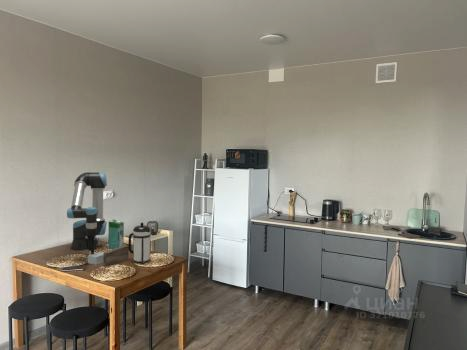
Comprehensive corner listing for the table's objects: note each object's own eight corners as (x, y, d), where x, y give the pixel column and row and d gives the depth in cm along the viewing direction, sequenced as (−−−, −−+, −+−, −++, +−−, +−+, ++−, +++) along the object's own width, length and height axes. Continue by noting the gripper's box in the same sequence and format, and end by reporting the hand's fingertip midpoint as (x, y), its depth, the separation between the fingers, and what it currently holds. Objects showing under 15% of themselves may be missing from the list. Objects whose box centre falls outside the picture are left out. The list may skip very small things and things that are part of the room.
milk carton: (118, 251, 291) (118, 221, 289) (108, 250, 293) (108, 221, 291) (123, 248, 300) (123, 219, 298) (114, 247, 302) (114, 219, 300)
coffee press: (151, 257, 276) (151, 220, 274) (152, 264, 261) (152, 224, 259) (128, 258, 272) (128, 220, 270) (127, 265, 256) (128, 224, 255)
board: (103, 266, 254) (103, 252, 253) (124, 258, 274) (124, 245, 273) (107, 266, 252) (107, 253, 251) (128, 258, 272) (128, 246, 271)
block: (87, 263, 259) (87, 255, 259) (98, 259, 268) (98, 252, 268) (95, 265, 256) (95, 257, 255) (106, 261, 265) (106, 253, 264)
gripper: (81, 227, 262) (81, 258, 264) (93, 229, 257) (93, 261, 258) (88, 226, 269) (88, 256, 271) (101, 228, 264) (101, 258, 265)
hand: (91, 258), depth 264 cm, fingers closed
